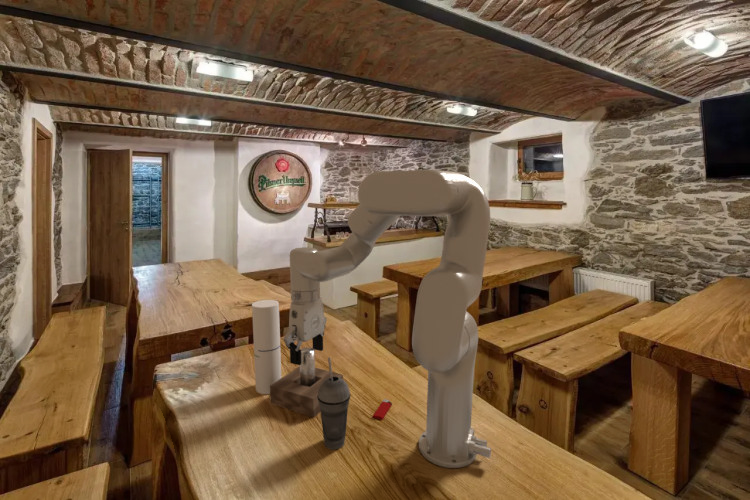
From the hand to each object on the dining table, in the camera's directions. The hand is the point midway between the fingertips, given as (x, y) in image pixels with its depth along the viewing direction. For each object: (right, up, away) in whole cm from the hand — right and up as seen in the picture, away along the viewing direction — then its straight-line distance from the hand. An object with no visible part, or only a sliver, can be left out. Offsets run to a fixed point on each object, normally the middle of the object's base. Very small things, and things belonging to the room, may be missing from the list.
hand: (307, 356), depth 102 cm
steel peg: (0, -10, +2) cm, 10 cm away
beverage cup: (+9, -15, -17) cm, 24 cm away
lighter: (+20, -14, -4) cm, 25 cm away
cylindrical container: (-12, -11, +7) cm, 18 cm away
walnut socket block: (0, -12, +2) cm, 12 cm away
